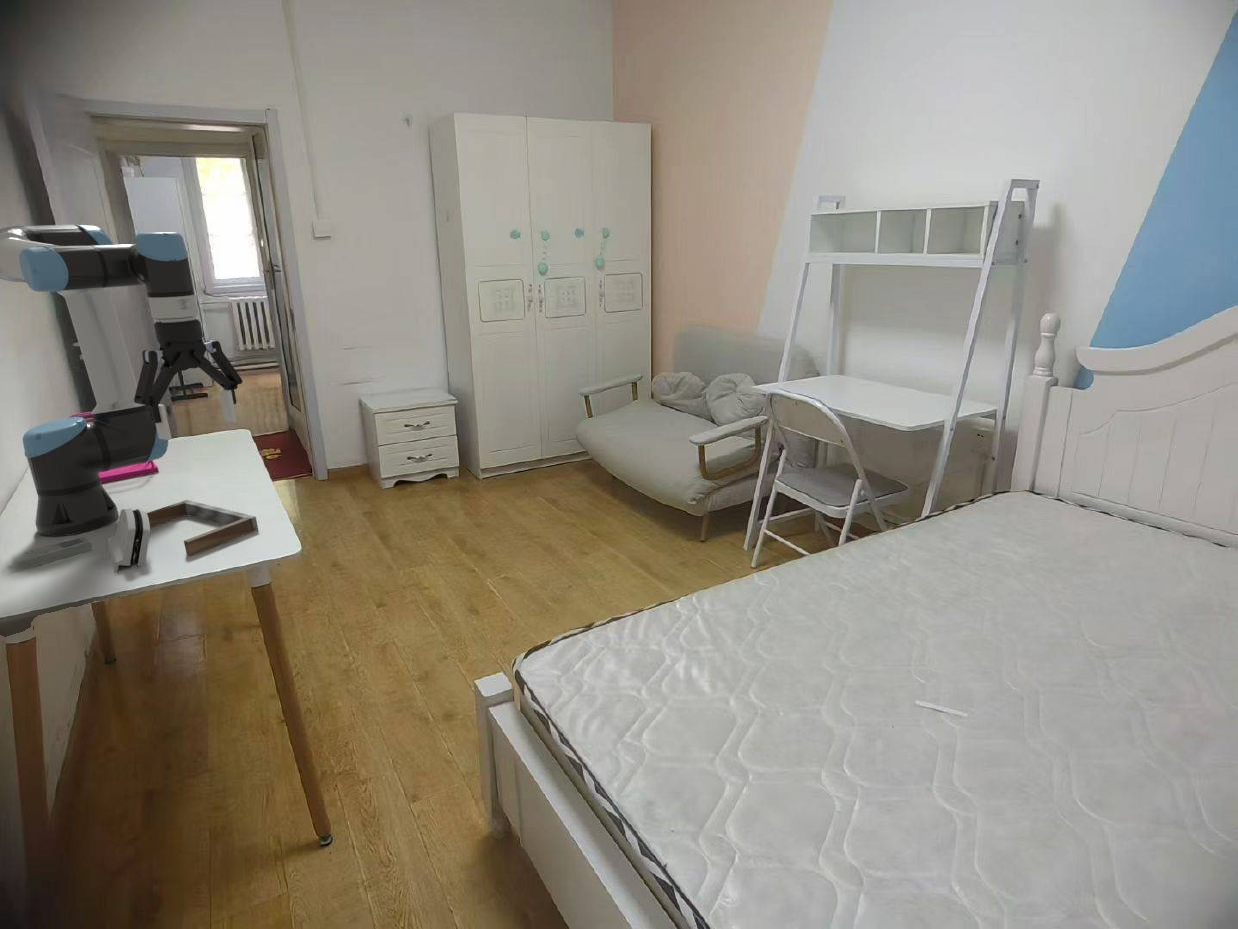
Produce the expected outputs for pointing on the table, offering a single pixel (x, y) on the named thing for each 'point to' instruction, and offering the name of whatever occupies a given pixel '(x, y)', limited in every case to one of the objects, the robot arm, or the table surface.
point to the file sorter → (124, 471)
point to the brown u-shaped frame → (232, 520)
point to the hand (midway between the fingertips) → (199, 430)
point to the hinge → (130, 539)
